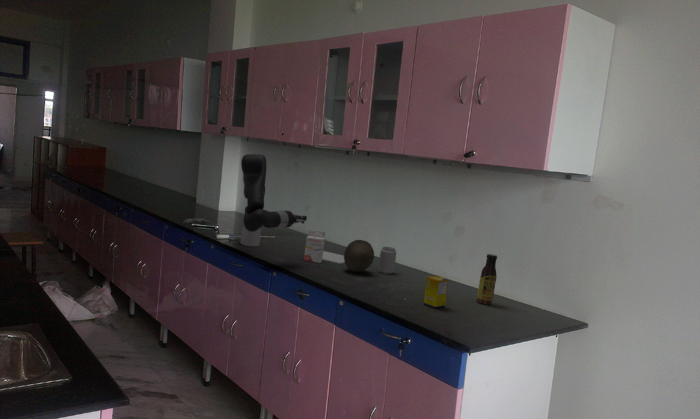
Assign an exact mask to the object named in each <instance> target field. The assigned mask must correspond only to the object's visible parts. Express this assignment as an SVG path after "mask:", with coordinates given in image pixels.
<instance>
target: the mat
mask: <svg viewBox="0 0 700 419" xmlns="http://www.w3.org/2000/svg"><path fill="white" fill-rule="evenodd" d="M304 255H305V253H303V256H304ZM322 261H326V262H329V263H330V262H331V263H335V264H338V265H339V264H340V265H342V264H345V261H344V254H343V255H342V254H338V253H336V252H335V253H334V252H330V251H326V250H323V258H322Z"/></svg>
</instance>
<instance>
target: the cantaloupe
mask: <svg viewBox="0 0 700 419" xmlns="http://www.w3.org/2000/svg"><path fill="white" fill-rule="evenodd" d="M343 256H344V261H345V263H344V264H345V266H346V268H347V269H348V270H349V271H351V272H353V273H361V272H363V271H365V270H367V269H368V268H369V267H371V265H372V264H373V262H374V259H375V251H374V249H373V246H372V244H371V242H368V241H367V240H363V239H355V240H353V241H351V242H349V244H348V245H347V246H346V248H345V250H344V253H343Z"/></svg>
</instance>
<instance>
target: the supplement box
mask: <svg viewBox="0 0 700 419" xmlns="http://www.w3.org/2000/svg"><path fill="white" fill-rule="evenodd" d="M425 281H426V282H425V290H424V299H423V306H426V305H427V307H429V306H430V308H432V309H434V308H436V309H442V308H445V307H446V300H447V291H448V285H449V278H446V277H442V276H439V275H433V276H431V275H430V276H426V280H425Z"/></svg>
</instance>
